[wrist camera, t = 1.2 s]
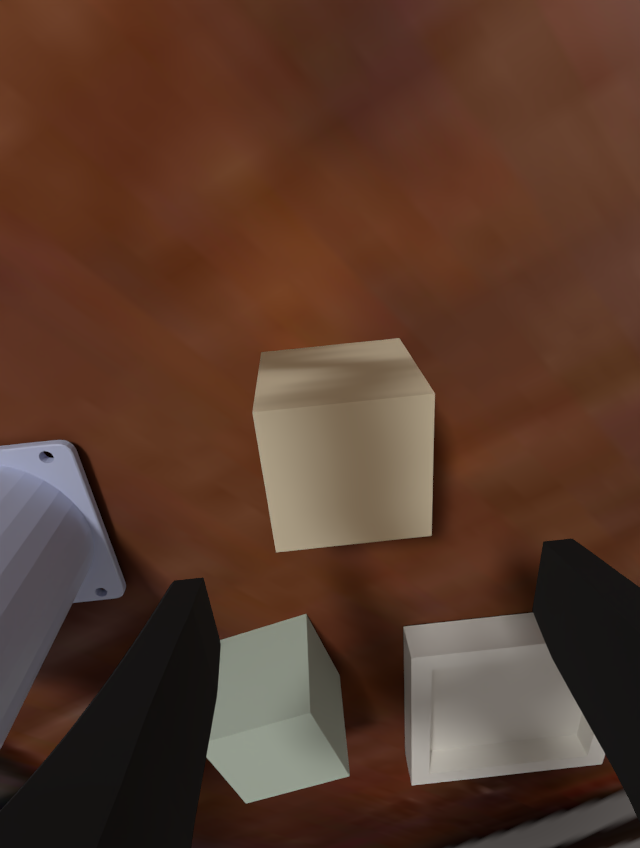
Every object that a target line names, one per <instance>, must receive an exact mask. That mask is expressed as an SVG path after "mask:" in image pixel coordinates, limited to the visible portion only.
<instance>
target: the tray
mask: <svg viewBox="0 0 640 848" xmlns="http://www.w3.org/2000/svg"><path fill="white" fill-rule="evenodd" d="M403 633H404V706H405V754H406V759H407V764H408V769H409V774H410V779H411V784H412V785H420V784H429V783H438V782H447V781H456V780H465V779H474V778H483V777H492V776H501V775H510V774H519V773H527V772H536V771H545V770H554V769H563V768H572V767H581V766H590V765H599V764H602V762H603V759H604V756H605V753H604V751H603V749H602V747H601V746H600V744H599V742H598V740H597V738H596V737H595V735H594V733H593V731H592V730H591V728H590V726H589V724H588V722H587V721H586V719H585V717H584V715H583V713H582V712H581V710H580V708H579V706H578V705H577V703H576V701H575V699H574V697H573V696H572V694H571V692H570V690H569V688H568V687H567V685H566V683H565V681H564V679H563V677H562V676H561V674H560V672H559V670H558V668H557V667H556V665H555V663H554V661H553V659H552V657H551V655H550V652H549V650H548V648H547V645H546V643H545V641H544V638H543V636H542V634H541V631H540V629H539V626H538V624H537V621H536V619H535V616H534V613H523V614H514V615H505V616H496V617H487V618H477V619H468V620H459V621H450V622H441V623H431V624H422V625H413V626H404V627H403Z"/></svg>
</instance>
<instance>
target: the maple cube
mask: <svg viewBox="0 0 640 848" xmlns="http://www.w3.org/2000/svg"><path fill="white" fill-rule="evenodd" d="M434 408H435V393H434V391H433V390H432V388H431V387H430V385H429V384H428V382H427V381H426V379H425V377H424V376H423V374H422V373H421V371H420V370H419V368H418V367H417V365H416V363H415V362H414V360H413V359H412V357H411V356H410V354H409V353H408V351H407V349H406V348H405V346H404V345H403V343H402V342H401V340H400V339H399V338H397V339H387V340H377V341H367V342H358V343H348V344H338V345H328V346H319V347H309V348H299V349H289V350H280V351H270V352H261V358H260V365H259V372H258V379H257V385H256V392H255V399H254V405H253V412H252V413H253V418H254V424H255V430H256V436H257V442H258V448H259V454H260V460H261V466H262V472H263V478H264V484H265V490H266V496H267V501H268V507H269V513H270V519H271V525H272V531H273V537H274V543H275V549H276V552H283V551H293V550H302V549H312V548H321V547H331V546H340V545H349V544H359V543H368V542H378V541H387V540H397V539H406V538H416V537H425V536H432V498H433V453H434Z"/></svg>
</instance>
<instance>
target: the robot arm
mask: <svg viewBox="0 0 640 848" xmlns="http://www.w3.org/2000/svg"><path fill="white" fill-rule="evenodd" d="M44 451H47V452H49V453H51V454H52V455H53V457H54V458H50V457H48V456H46V455H45V454H44ZM100 588H103V589H105V590H102V589H100ZM125 589H126V583H125V580H124V577H123V575H122V572H121V569H120V566H119V564H118V561H117V558H116V556H115V553H114V550H113V547H112V545H111V542H110V539H109V537H108V534H107V531H106V528H105V526H104V523H103V520H102V518H101V515H100V512H99V509H98V507H97V504H96V501H95V499H94V496H93V493H92V490H91V488H90V485H89V482H88V480H87V477H86V474H85V471H84V469H83V466H82V463H81V461H80V458H79V455H78V452H77V450H76V448H75V447H74V445H73V444H71V443H70V442H68V441H65V440H52V441H43V442H33V443H23V444H14V445H4V446H0V749H1V747H2V745H3V743H4V741H5V739H6V737H7V735H8V733H9V731H10V729H11V727H12V725H13V723H14V721H15V719H16V717H17V715H18V713H19V711H20V709H21V707H22V704H23V702H24V700H25V698H26V696H27V694H28V692H29V690H30V688H31V686H32V684H33V682H34V680H35V678H36V676H37V674H38V672H39V670H40V668H41V666H42V664H43V662H44V660H45V658H46V656H47V654H48V652H49V650H50V648H51V646H52V644H53V642H54V640H55V638H56V636H57V634H58V632H59V630H60V628H61V626H62V624H63V622H64V620H65V618H66V616H67V613H68V611H69V609H70V607H71V605H72V603H78V602H87V601H96V600H105V599H115V598H119V597H121V596H122V595H123V594H124V592H125ZM532 611H533V613H534V616H535V619H536V621H537V624H538V626H539V629H540V631H541V634H542V636H543V638H544V641H545V643H546V645H547V648H548V650H549V652H550V655H551V657H552V659H553V661H554V663H555V665H556V667H557V668H558V670H559V672H560V674H561V676H562V677H563V679H564V681H565V683H566V685H567V687H568V688H569V690H570V692H571V694H572V696H573V697H574V699H575V701H576V703H577V705H578V706H579V708H580V710H581V712H582V713H583V715H584V717H585V719H586V721H587V722H588V724H589V726H590V728H591V730H592V731H593V733H594V735H595V737H596V738H597V740H598V742H599V744H600V746H601V747H602V749H603V751H604V753H605V754H606V756H607V758H608V760H609V762H610V763H611V765H612V767H613V769H614V771H615V772H616V774H617V776H618V778H619V780H620V782H621V784H622V786H623V788H624V790H625V792H626V794H627V796H628V797H629V800H630V802H631V804H632V806H633V808H634V811H635V813H636V815H637V817H638V819H639V822H640V587H638V586H637V585H635V584H634V583H633V582H631V581H630V580H629V579H627V578H626V577H624V576H623V575H622V574H620V573H619V572H618V571H616V570H615V569H613V568H612V567H611V566H609V565H608V564H607V563H605V562H604V561H603V560H601V559H600V558H598V557H597V556H596V555H594V554H593V553H592V552H590V551H589V550H588V549H586V548H585V547H583V546H582V545H580V544H579V543H578V542H576V541H575V540H573V539H564V540H555V541H545V542H543V547H542V554H541V560H540V566H539V572H538V578H537V585H536V591H535V597H534V603H533V610H532ZM220 649H221V643H220V639H219V635H218V632H217V628H216V624H215V620H214V616H213V613H212V609H211V605H210V601H209V597H208V594H207V590H206V586H205V582H204V578H196V579H186V580H177V581H174V582H173V583H172V584H171V585H170V587H169V588H168V590H167V591H166V593H165V595H164V596H163V598H162V599H161V601H160V603H159V604H158V606H157V607H156V609H155V611H154V612H153V614H152V615H151V617H150V618H149V620H148V621H147V623H146V625H145V626H144V628H143V629H142V631H141V632H140V634H139V635H138V637H137V638H136V640H135V641H134V643H133V644H132V646H131V647H130V649H129V650H128V651H127V653H126V654H125V656H124V657H123V659H122V660H121V662H120V663H119V665H118V666H117V667H116V669H115V670H114V672H113V673H112V675H111V676H110V677H109V679H108V680H107V682H106V683H105V684H104V686H103V687H102V688H101V690H100V691H99V692H98V694H97V695H96V696H95V698H94V699H93V700H92V702H91V703H90V704H89V706H88V707H87V708H86V710H85V711H84V712H83V714H82V715H81V716H80V718H79V719H78V720H77V722H76V723H75V724H74V725H73V727H72V728H71V729H70V730H69V732H68V733H67V734H66V735H65V737H64V738H63V739H62V740H61V742H60V743H59V744H58V745H57V746H56V748H55V749H54V750H53V751H52V752H51V754H50V755H49V756H48V757H47V758H46V760H45V761H44V762H43V763H42V764H41V765H40V767H39V768H38V769H37V770H36V771H35V772H34V774H33V775H32V776H31V777H30V778H29V779H28V781H27V782H26V783H25V784H24V785H23V786H22V787H21V789H20V790H19V791H18V792H17V793H16V794H15V795H14V796H13V797H12V798H11V799H10V801H9V802H8V803H7V804H6V805H5V806H4V807H3V808H2V809H1V810H0V848H191V844H192V837H193V830H194V823H195V816H196V811H197V805H198V800H199V794H200V789H201V783H202V778H203V772H204V767H205V761H206V756H207V750H208V745H209V739H210V733H211V728H212V722H213V716H214V711H215V705H216V699H217V692H218V679H219V665H220Z"/></svg>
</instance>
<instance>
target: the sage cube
mask: <svg viewBox="0 0 640 848" xmlns="http://www.w3.org/2000/svg"><path fill="white" fill-rule="evenodd" d="M220 643H221V649H220V665H219V679H218V692H217V699H216V705H215V711H214V716H213V722H212V728H211V733H210V739H209V745H208V750H207V756H206V757H207V758H208V760H209V761H210V762H211V763H212V764H213V765H214V767H215V768H216V769H217V770H218V771H219V773H220V774H221V775H222V776H223V777H224V778H225V780H226V781H227V782H228V783H229V784H230V785H231V787H232V788H233V789H234V790H235V791H236V792H237V794H238V795H239V796H240V797H241V798H242V799H243V801H244V802H245V803H250V802H254V801H257V800H261V799H265V798H269V797H273V796H276V795H280V794H284V793H288V792H291V791H295V790H299V789H303V788H307V787H310V786H314V785H318V784H322V783H325V782H329V781H333V780H337V779H341V778H344V777H348V776H350V773H349V763H348V753H347V743H346V733H345V723H344V714H343V704H342V694H341V684H340V675H339V673H338V671H337V669H336V668H335V666H334V664H333V662H332V660H331V658H330V657H329V655H328V653H327V651H326V649H325V647H324V646H323V644H322V642H321V640H320V638H319V636H318V635H317V633H316V631H315V629H314V627H313V625H312V624H311V622H310V620H309V618H308V616H307V614H305V615H301V616H298V617H295V618H291V619H288V620H285V621H282V622H278V623H275V624H272V625H269V626H265V627H262V628H259V629H256V630H252V631H249V632H246V633H242V634H239V635H236V636H233V637H229V638H226V639H223V640H220Z"/></svg>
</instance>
